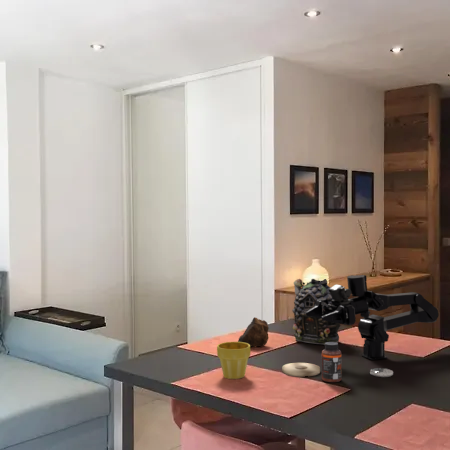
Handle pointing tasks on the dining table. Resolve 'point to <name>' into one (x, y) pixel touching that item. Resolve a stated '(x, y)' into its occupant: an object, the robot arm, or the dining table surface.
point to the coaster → (301, 369)
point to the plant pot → (233, 358)
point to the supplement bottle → (331, 362)
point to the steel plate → (381, 372)
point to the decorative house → (306, 325)
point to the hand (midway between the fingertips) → (313, 316)
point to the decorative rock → (255, 333)
